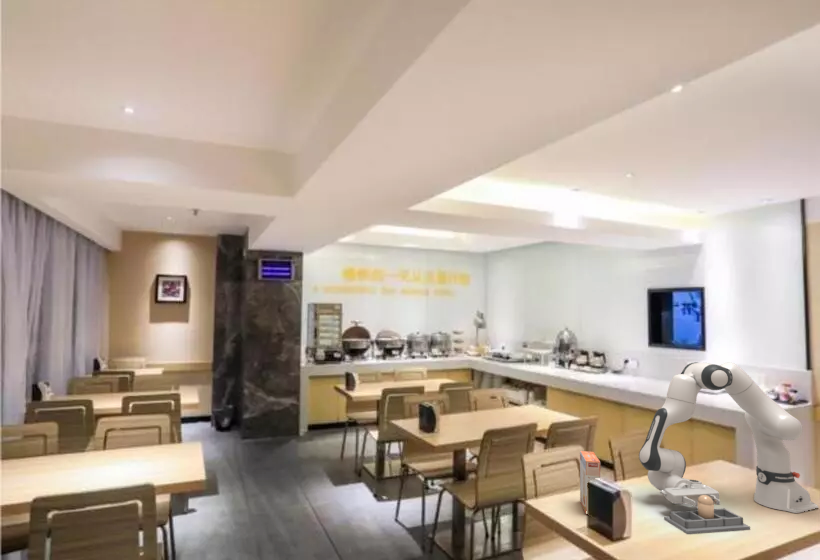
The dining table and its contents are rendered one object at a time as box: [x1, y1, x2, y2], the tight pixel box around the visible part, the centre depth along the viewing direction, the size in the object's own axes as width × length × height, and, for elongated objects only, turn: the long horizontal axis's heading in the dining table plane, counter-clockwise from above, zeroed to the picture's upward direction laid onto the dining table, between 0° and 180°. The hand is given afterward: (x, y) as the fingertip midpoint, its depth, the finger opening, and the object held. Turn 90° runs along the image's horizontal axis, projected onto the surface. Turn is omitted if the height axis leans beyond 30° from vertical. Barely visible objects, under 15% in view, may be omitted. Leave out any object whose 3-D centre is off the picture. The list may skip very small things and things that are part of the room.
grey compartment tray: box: [663, 508, 751, 535], centre depth 177 cm, size 26×12×4 cm, turn 99°
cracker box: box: [579, 450, 601, 513], centre depth 191 cm, size 14×6×21 cm, turn 168°
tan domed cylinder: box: [697, 495, 715, 519], centre depth 177 cm, size 5×5×10 cm
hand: (707, 503), depth 177 cm, fingers open, 8 cm apart
